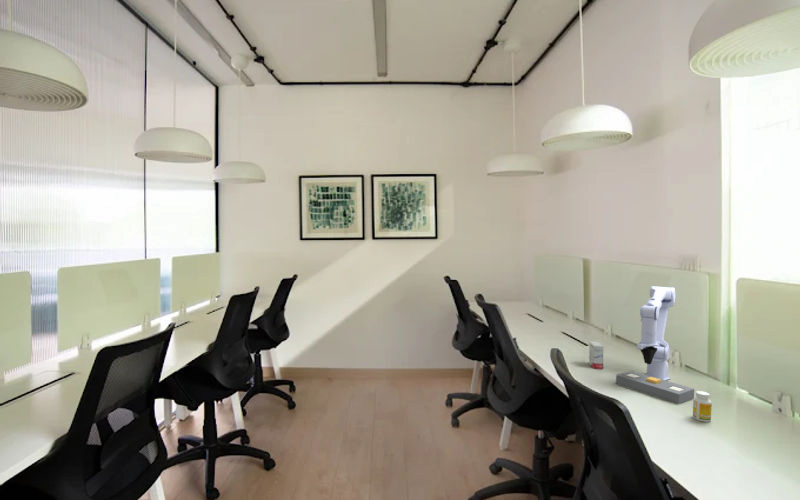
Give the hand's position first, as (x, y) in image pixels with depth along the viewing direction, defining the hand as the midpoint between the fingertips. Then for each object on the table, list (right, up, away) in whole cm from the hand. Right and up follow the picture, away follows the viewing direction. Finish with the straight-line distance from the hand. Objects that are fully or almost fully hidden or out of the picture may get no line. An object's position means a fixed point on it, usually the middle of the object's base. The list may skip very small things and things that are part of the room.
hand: (647, 363), depth 181 cm
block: (-5, -10, +3) cm, 12 cm away
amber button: (0, -9, -4) cm, 10 cm away
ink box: (-9, -10, +29) cm, 32 cm away
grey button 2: (+4, -10, -12) cm, 16 cm away
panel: (0, -11, -4) cm, 11 cm away
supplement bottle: (0, -12, -32) cm, 34 cm away
